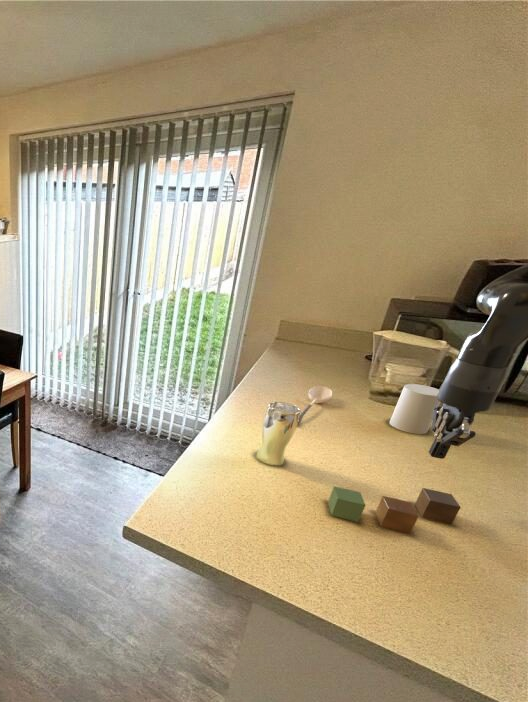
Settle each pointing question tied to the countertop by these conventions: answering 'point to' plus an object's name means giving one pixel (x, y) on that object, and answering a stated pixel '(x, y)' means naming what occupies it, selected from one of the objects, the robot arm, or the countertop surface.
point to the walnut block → (437, 506)
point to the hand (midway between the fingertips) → (435, 456)
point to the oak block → (396, 514)
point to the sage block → (346, 504)
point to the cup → (415, 408)
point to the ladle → (317, 397)
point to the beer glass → (277, 431)
